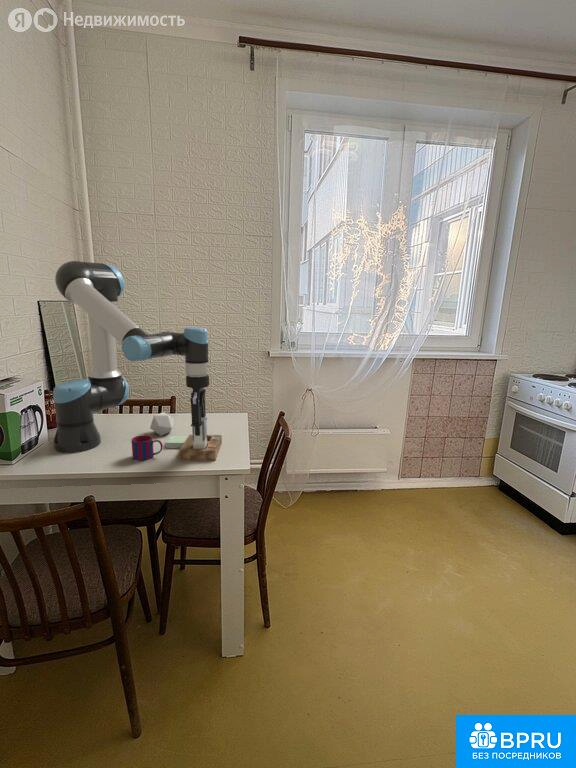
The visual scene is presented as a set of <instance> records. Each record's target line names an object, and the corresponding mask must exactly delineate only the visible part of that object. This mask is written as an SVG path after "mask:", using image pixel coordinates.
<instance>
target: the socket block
mask: <svg viewBox="0 0 576 768" xmlns="http://www.w3.org/2000/svg"><path fill="white" fill-rule="evenodd" d="M187 436H188V438H187V439H186V441H185V442H184V444H183V446H182V447H181V448H179V461H216V460H217V458H218V455H219V452H220V450H221V447H222V444H223V436H222V434H207V446H206V448H205V449H193V434H189V435H187Z"/></svg>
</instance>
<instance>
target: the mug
mask: <svg viewBox="0 0 576 768" xmlns="http://www.w3.org/2000/svg"><path fill="white" fill-rule="evenodd" d="M156 442H157V443H159V445H160V449H159V451H157V452H154V443H156ZM163 446H164V445H163V443H162V441H161V440H159V439H153V436H151V435H149V434H148V435H147V434H144V435H143V434H142V435H136V436H134V437H132V438H131V453H132V459H133V461H136V462H145V461H149V460H152V459H153V458H154V456H155V455H158V454H159V453H161V452H162V451H163Z"/></svg>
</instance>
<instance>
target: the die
mask: <svg viewBox="0 0 576 768" xmlns="http://www.w3.org/2000/svg"><path fill="white" fill-rule="evenodd" d="M174 423H175V419H174V418H173V417H172V416H170V415H169V414H167V413H166V412H164V411H163V412H160V413H157V414H154V415H153V418H152V420H151V424H150V427H149V429H150V430H152V431H153V432H155V433H156V434H158V436H160V437H162V436H164V435H167V434H169V433H171V432H172V429H173V426H174Z"/></svg>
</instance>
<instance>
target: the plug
mask: <svg viewBox="0 0 576 768" xmlns="http://www.w3.org/2000/svg"><path fill="white" fill-rule="evenodd" d="M206 418H207V417H206V416H205V417H201V425H202V437H203V444H194V426H191V427H192V435H193V449H205V448H206V446H207V435H208V434H207V432H208V431H207V428H208V427H207V426H208V425H207V420H206Z"/></svg>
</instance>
